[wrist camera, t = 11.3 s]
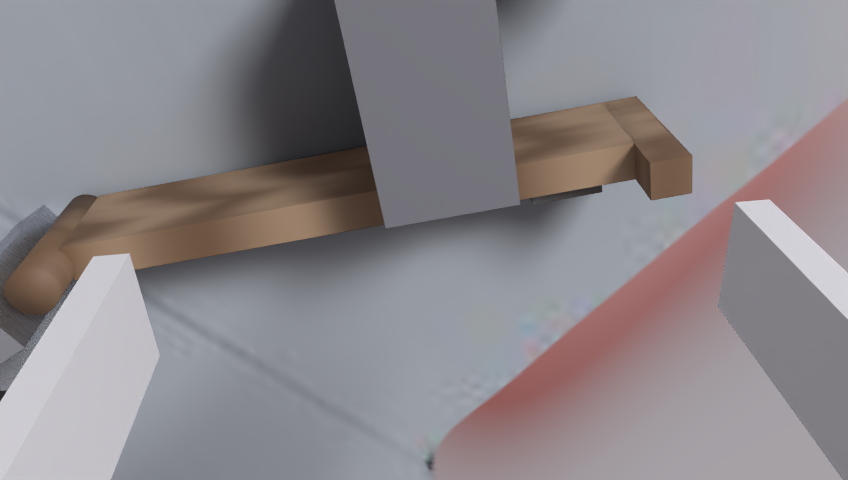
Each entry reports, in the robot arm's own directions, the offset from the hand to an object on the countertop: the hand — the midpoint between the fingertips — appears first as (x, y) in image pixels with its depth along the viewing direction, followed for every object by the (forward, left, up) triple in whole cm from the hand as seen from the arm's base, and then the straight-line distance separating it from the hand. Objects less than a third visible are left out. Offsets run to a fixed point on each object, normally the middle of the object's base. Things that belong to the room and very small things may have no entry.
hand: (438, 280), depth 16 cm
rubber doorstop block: (+1, +1, -19) cm, 19 cm away
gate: (-5, -3, -19) cm, 20 cm away
